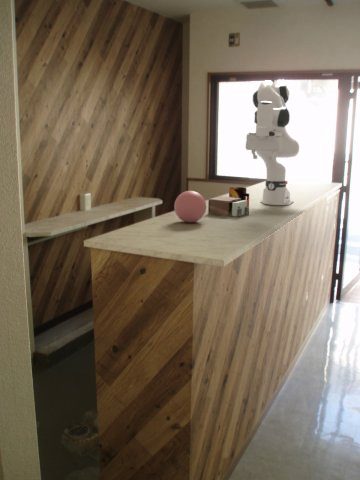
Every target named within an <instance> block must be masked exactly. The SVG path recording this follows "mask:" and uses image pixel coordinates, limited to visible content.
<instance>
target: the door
mask: <svg viewBox="0 0 360 480" xmlns="http://www.w3.org/2000/svg"><path fill="white" fill-rule="evenodd" d="M245 207H247V199H246V200H242V201H238V202H233V203H232V216H231V217H235V216H238V209H242V216H244V215H243V214H245Z"/></svg>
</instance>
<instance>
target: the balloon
mask: <svg viewBox="0 0 360 480" xmlns="http://www.w3.org/2000/svg"><path fill="white" fill-rule="evenodd" d="M173 207H174V212H175V215H176V216H177V218H178V219H179V220H180V221H182V222H185V223H187V224H188V223H189V224H190V223H195V222H198V221H200V220H201V219H202V218H203V217H204V215H205V213H206V210H207V202H206V200H205V198H204V196H203V195H202V194H200V193H199V192H197V191H194V190H186V191H183V192H181V193H180V194H179V195H178V196H177V197H176V199H175V201H174V205H173Z"/></svg>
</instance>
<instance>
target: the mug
mask: <svg viewBox="0 0 360 480" xmlns="http://www.w3.org/2000/svg"><path fill="white" fill-rule="evenodd" d="M228 190H229V191H228V192H229V193H228V197H234V198H241V201H242V200H247V207H249V208H250V193H247V187H242V186H241V187H240V186H236V187H235V186H233V187H232V186H230V187H229V189H228Z"/></svg>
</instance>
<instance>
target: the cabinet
mask: <svg viewBox="0 0 360 480" xmlns="http://www.w3.org/2000/svg"><path fill="white" fill-rule="evenodd" d="M238 201H241V198H234V197H229V196H217V197H213V198H212V197H211V198H208V206H207V207H208V208H207V209H208V210H207V212H208V215H215V216H223V217H233V216H232V203H233V202H238ZM249 215H250V206H249V207H245V214H243V215H242V209H238V216H234V218H235V217H237V218H241V217H242V216H249Z"/></svg>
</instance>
